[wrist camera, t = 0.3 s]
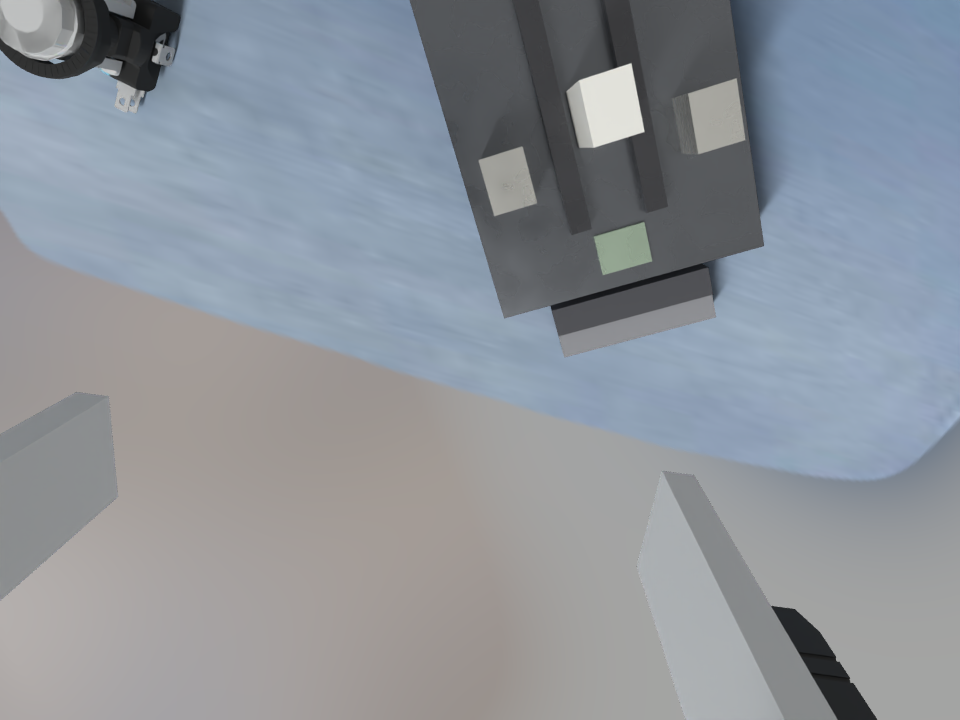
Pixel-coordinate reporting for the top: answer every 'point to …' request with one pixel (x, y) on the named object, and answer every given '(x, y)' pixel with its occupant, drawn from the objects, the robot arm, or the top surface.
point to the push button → (90, 40)
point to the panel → (604, 169)
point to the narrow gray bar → (634, 310)
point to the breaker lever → (605, 107)
